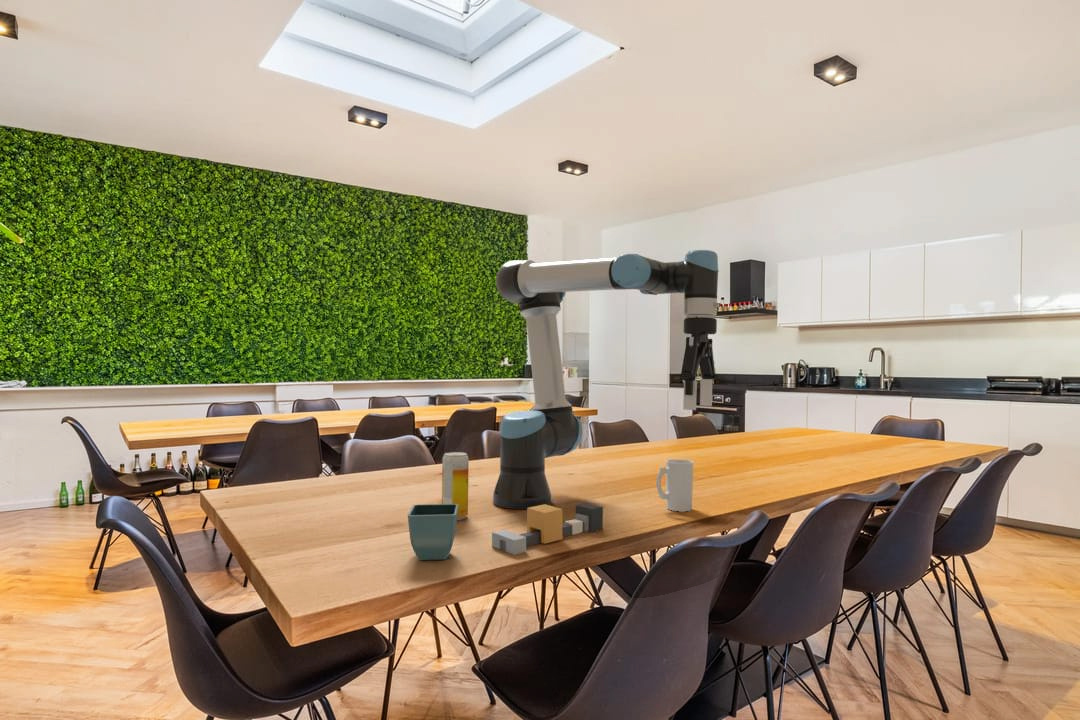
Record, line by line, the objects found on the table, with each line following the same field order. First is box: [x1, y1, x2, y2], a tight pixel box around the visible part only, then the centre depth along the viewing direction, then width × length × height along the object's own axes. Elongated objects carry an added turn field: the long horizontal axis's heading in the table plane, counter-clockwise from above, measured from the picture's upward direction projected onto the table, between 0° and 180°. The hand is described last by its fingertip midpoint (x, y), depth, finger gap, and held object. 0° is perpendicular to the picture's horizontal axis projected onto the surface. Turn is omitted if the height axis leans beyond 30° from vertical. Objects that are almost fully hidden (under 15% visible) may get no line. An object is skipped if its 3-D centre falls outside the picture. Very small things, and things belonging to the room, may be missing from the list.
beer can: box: [441, 451, 470, 521], centre depth 144 cm, size 6×6×15 cm
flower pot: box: [407, 503, 458, 561], centre depth 116 cm, size 9×9×9 cm
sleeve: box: [526, 504, 564, 544], centre depth 127 cm, size 5×5×6 cm
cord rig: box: [491, 502, 604, 556], centre depth 128 cm, size 26×7×5 cm, turn 132°
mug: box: [656, 458, 694, 513], centre depth 154 cm, size 10×7×12 cm, turn 112°
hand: (698, 407), depth 144 cm, fingers open, 13 cm apart
